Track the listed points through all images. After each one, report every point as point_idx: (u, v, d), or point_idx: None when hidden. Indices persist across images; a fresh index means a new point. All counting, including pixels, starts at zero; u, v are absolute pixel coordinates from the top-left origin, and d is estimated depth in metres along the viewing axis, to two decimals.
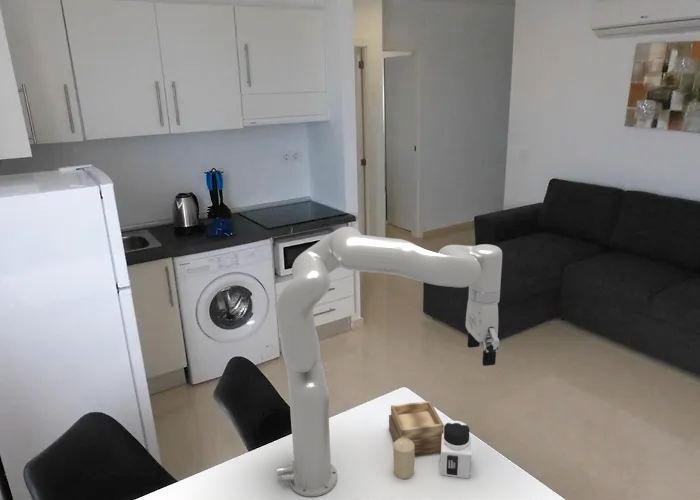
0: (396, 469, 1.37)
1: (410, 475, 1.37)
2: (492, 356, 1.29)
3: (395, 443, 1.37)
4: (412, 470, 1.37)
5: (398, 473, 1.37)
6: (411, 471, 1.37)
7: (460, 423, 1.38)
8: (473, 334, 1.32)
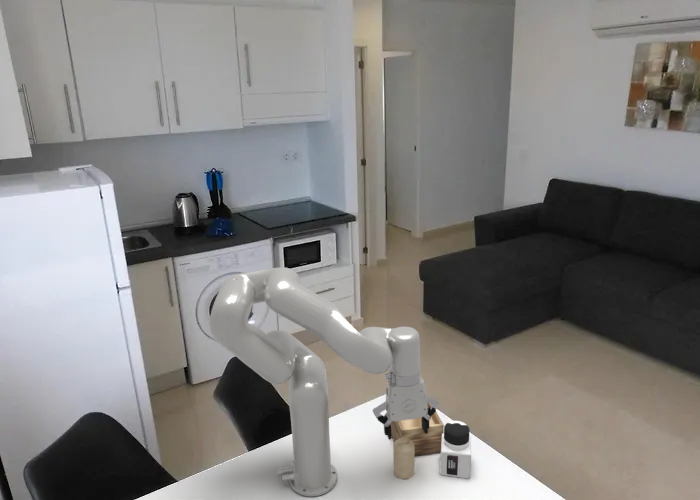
0: (396, 469, 1.37)
1: (410, 475, 1.37)
2: None
3: (395, 443, 1.37)
4: (412, 470, 1.37)
5: (398, 473, 1.37)
6: (411, 471, 1.37)
7: (460, 423, 1.38)
8: (413, 416, 1.31)
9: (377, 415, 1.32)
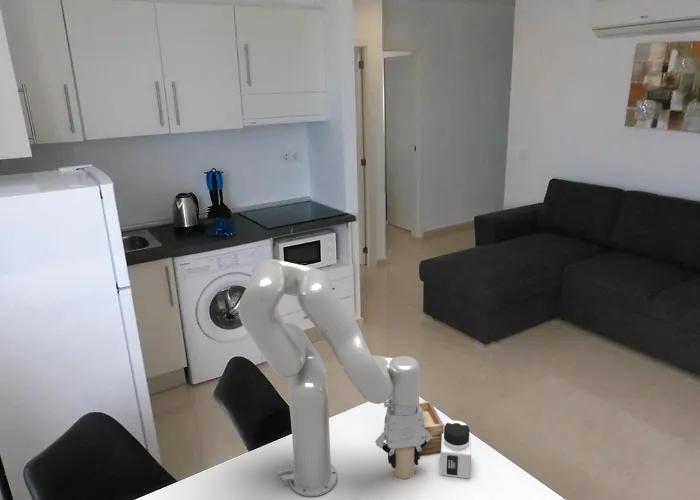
0: (396, 469, 1.37)
1: (410, 475, 1.37)
2: None
3: None
4: (412, 470, 1.37)
5: (398, 473, 1.37)
6: (411, 471, 1.37)
7: (460, 423, 1.38)
8: (411, 444, 1.34)
9: (381, 445, 1.35)
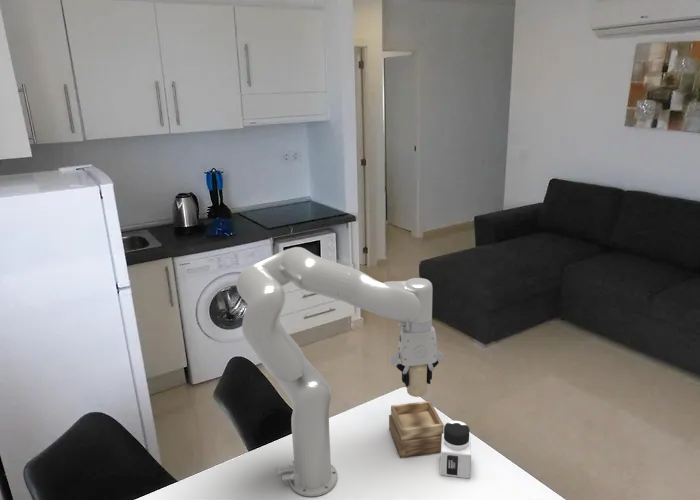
0: (410, 388, 1.44)
1: (423, 393, 1.44)
2: None
3: None
4: (425, 388, 1.45)
5: (411, 391, 1.44)
6: (424, 389, 1.44)
7: (460, 423, 1.38)
8: (424, 362, 1.41)
9: (395, 364, 1.43)
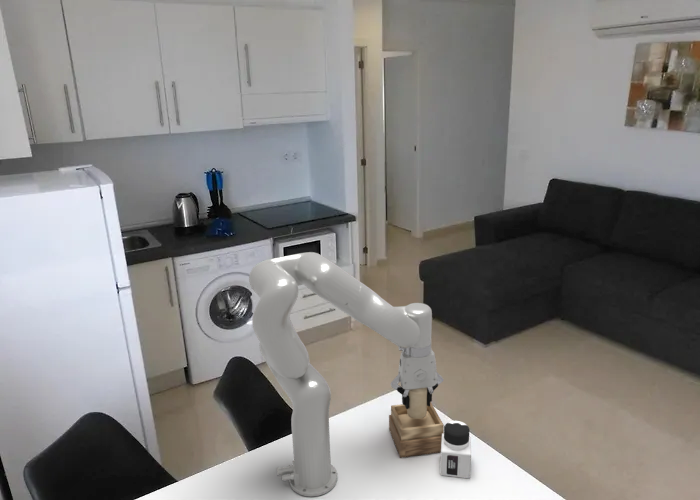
0: (410, 410, 1.47)
1: (423, 415, 1.47)
2: None
3: None
4: (425, 411, 1.47)
5: (412, 414, 1.47)
6: (424, 411, 1.47)
7: (460, 423, 1.38)
8: (424, 385, 1.44)
9: (396, 387, 1.45)
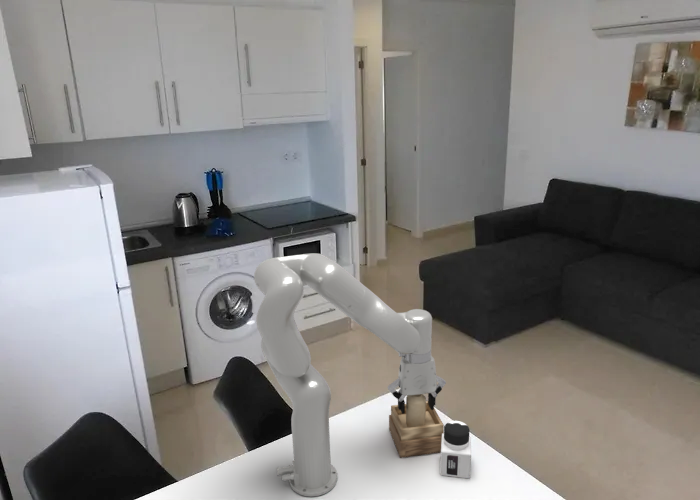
0: (409, 420, 1.48)
1: None
2: None
3: (408, 396, 1.47)
4: (423, 421, 1.48)
5: (410, 424, 1.47)
6: (423, 422, 1.47)
7: (460, 423, 1.38)
8: (423, 391, 1.44)
9: (392, 391, 1.45)
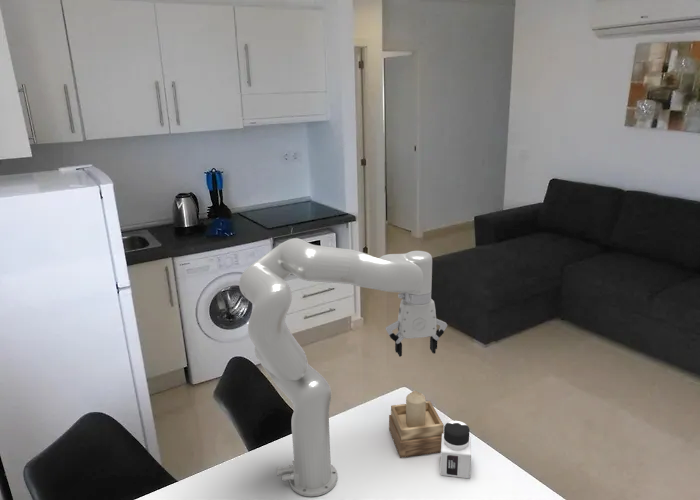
0: (409, 420, 1.48)
1: None
2: None
3: (408, 396, 1.47)
4: (423, 421, 1.48)
5: (410, 424, 1.47)
6: (423, 422, 1.47)
7: (460, 423, 1.38)
8: (423, 334, 1.43)
9: (390, 332, 1.43)
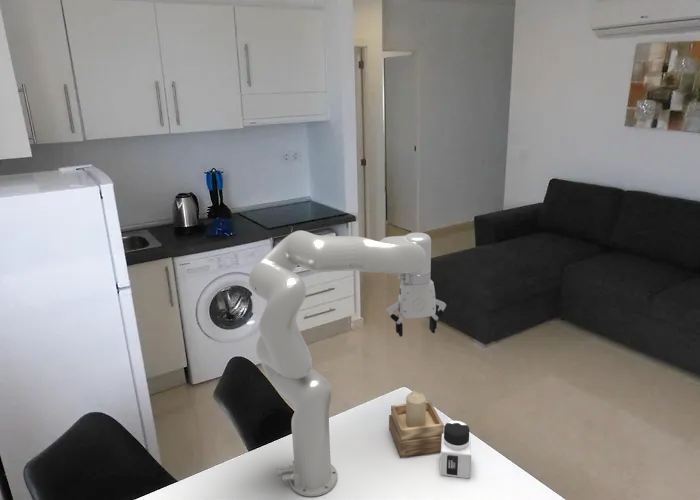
0: (409, 420, 1.48)
1: None
2: None
3: (408, 396, 1.47)
4: (423, 421, 1.48)
5: (410, 424, 1.47)
6: (423, 422, 1.47)
7: (460, 423, 1.38)
8: (423, 314, 1.46)
9: (391, 313, 1.47)
